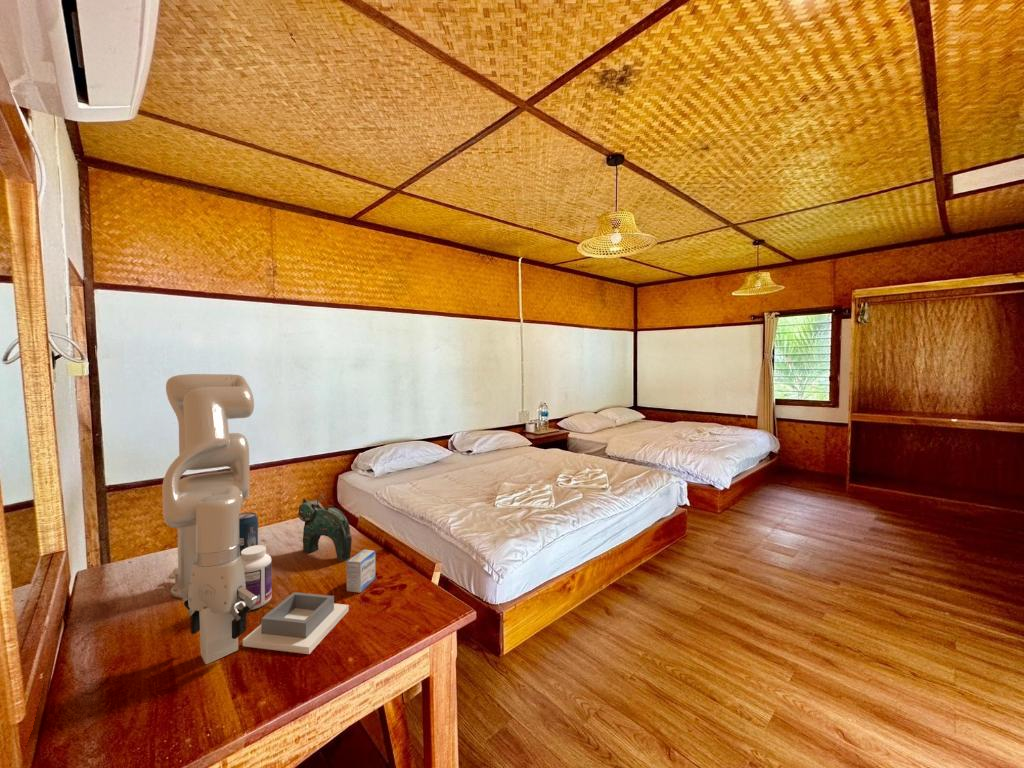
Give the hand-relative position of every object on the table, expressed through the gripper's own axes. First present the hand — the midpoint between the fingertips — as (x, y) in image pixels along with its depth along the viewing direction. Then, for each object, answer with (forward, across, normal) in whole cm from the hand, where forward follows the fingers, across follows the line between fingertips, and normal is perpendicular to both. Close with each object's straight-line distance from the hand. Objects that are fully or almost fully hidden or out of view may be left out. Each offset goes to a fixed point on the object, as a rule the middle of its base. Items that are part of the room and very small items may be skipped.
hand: (219, 632), depth 87 cm
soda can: (+5, -33, +45) cm, 56 cm away
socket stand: (+5, +11, +11) cm, 16 cm away
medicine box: (+5, +16, +31) cm, 35 cm away
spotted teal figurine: (+5, -5, +47) cm, 48 cm away
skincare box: (+5, 0, 0) cm, 5 cm away
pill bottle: (+5, -7, +18) cm, 20 cm away
